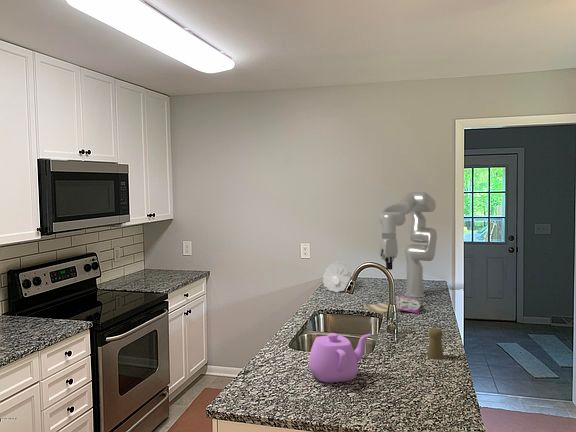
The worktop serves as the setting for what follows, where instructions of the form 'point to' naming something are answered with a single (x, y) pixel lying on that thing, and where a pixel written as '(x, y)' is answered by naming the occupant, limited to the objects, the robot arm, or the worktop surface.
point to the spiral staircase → (337, 276)
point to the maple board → (379, 308)
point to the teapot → (335, 358)
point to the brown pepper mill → (435, 344)
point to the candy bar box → (408, 304)
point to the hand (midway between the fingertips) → (389, 269)
